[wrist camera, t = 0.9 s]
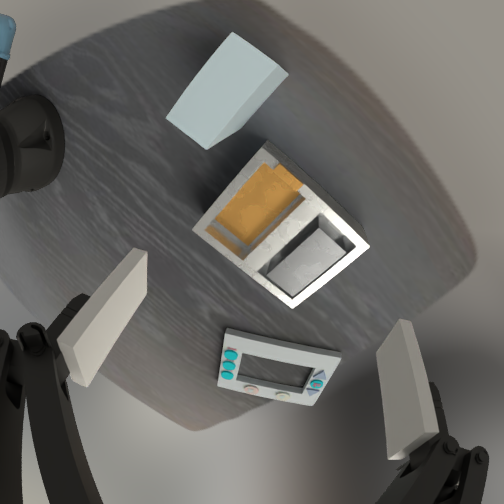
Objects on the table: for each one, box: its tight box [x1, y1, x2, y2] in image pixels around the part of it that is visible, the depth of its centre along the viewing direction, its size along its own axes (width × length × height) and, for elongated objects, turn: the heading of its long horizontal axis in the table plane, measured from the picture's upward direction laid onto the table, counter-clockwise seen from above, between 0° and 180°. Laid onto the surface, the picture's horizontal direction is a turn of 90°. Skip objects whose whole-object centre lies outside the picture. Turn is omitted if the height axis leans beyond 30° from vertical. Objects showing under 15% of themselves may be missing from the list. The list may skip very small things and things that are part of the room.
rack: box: [192, 140, 370, 309], centre depth 34 cm, size 15×12×6 cm
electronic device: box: [217, 328, 341, 406], centre depth 49 cm, size 18×2×15 cm
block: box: [166, 32, 289, 150], centre depth 24 cm, size 4×8×12 cm, turn 141°
